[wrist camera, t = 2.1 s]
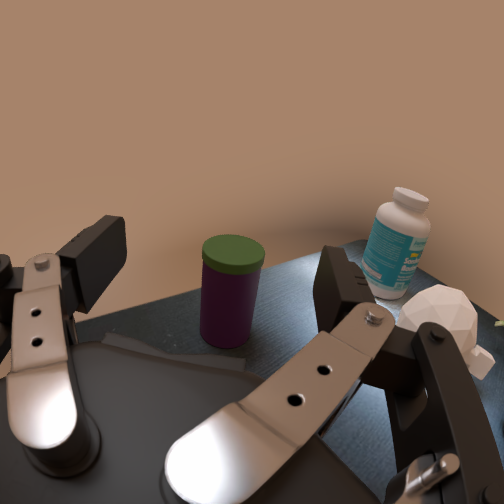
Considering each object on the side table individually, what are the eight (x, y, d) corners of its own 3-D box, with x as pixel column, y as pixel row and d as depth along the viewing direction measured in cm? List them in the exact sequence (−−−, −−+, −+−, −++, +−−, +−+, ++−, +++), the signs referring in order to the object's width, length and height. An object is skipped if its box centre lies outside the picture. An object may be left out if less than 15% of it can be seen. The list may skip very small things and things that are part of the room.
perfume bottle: (370, 357, 25) (463, 420, 20) (426, 271, 22) (525, 340, 17) (383, 331, 32) (458, 382, 27) (425, 263, 30) (504, 317, 24)
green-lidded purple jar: (209, 354, 26) (215, 268, 22) (192, 318, 30) (194, 237, 25) (259, 342, 28) (276, 260, 24) (238, 309, 32) (248, 232, 28)
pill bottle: (395, 310, 35) (435, 210, 28) (347, 284, 39) (377, 186, 32) (409, 286, 40) (441, 200, 34) (366, 265, 44) (392, 180, 38)
